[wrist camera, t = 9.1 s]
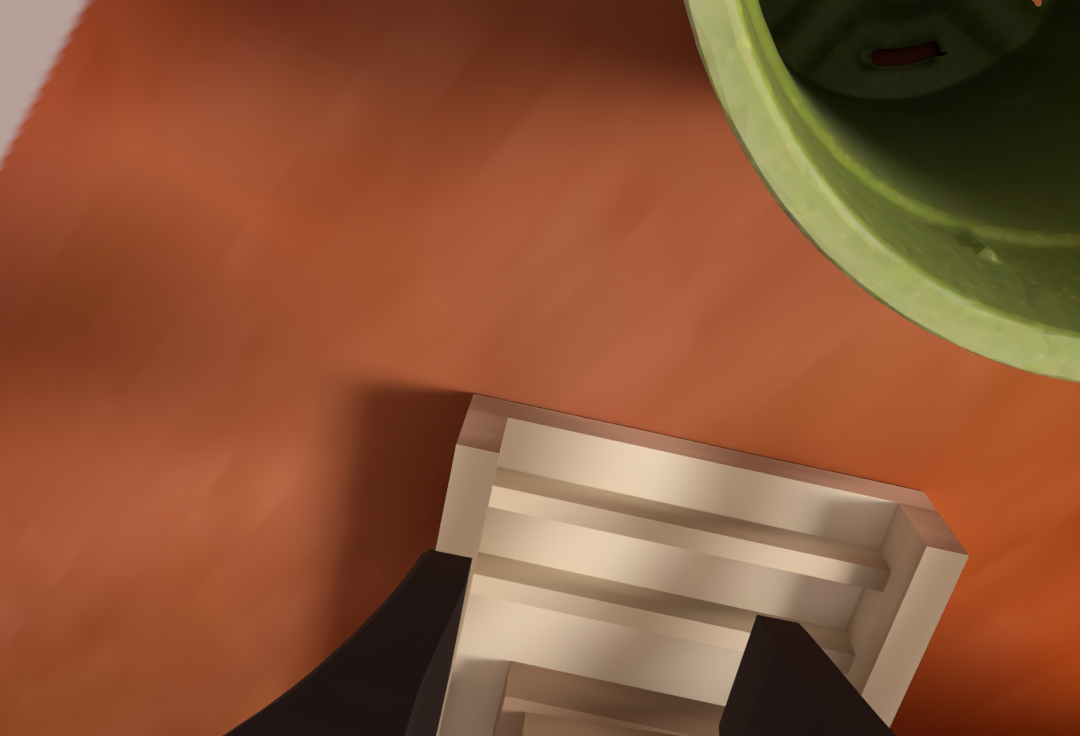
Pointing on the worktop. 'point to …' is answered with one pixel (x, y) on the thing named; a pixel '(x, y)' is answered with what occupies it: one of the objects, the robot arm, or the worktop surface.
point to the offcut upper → (576, 727)
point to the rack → (675, 561)
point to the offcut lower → (598, 704)
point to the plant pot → (921, 155)
